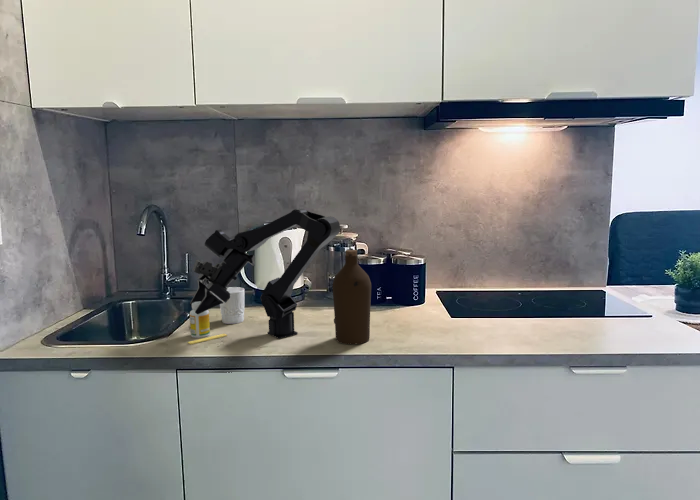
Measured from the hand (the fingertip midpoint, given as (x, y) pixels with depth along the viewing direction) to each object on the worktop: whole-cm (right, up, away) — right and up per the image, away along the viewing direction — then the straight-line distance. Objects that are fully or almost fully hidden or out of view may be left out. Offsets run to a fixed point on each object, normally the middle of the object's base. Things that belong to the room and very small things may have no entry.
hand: (193, 309), depth 151 cm
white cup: (+8, -6, +16) cm, 18 cm away
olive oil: (+45, -8, -4) cm, 46 cm away
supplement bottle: (+2, -8, +2) cm, 8 cm away
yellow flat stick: (+5, -8, -2) cm, 10 cm away
